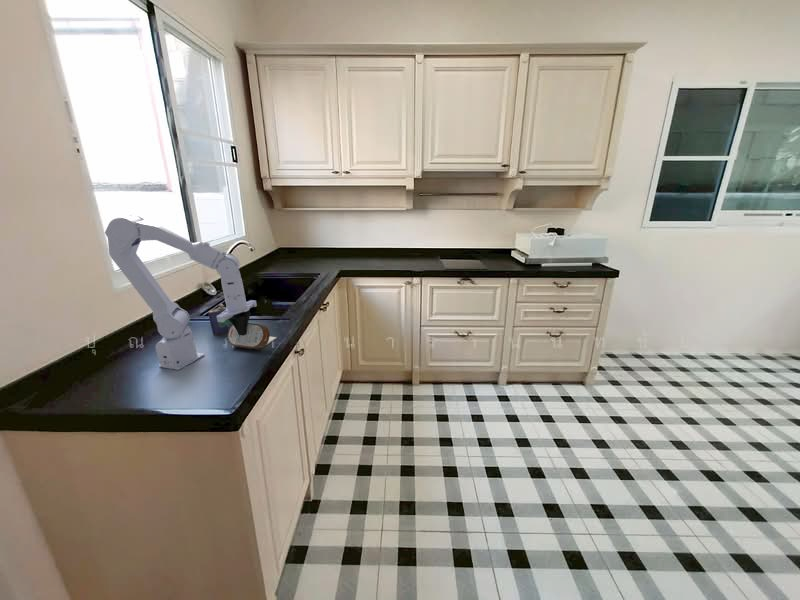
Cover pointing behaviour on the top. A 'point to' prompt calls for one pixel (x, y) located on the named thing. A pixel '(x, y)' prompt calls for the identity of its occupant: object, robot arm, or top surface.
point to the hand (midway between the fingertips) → (242, 334)
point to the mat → (271, 339)
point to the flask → (217, 326)
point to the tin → (250, 336)
